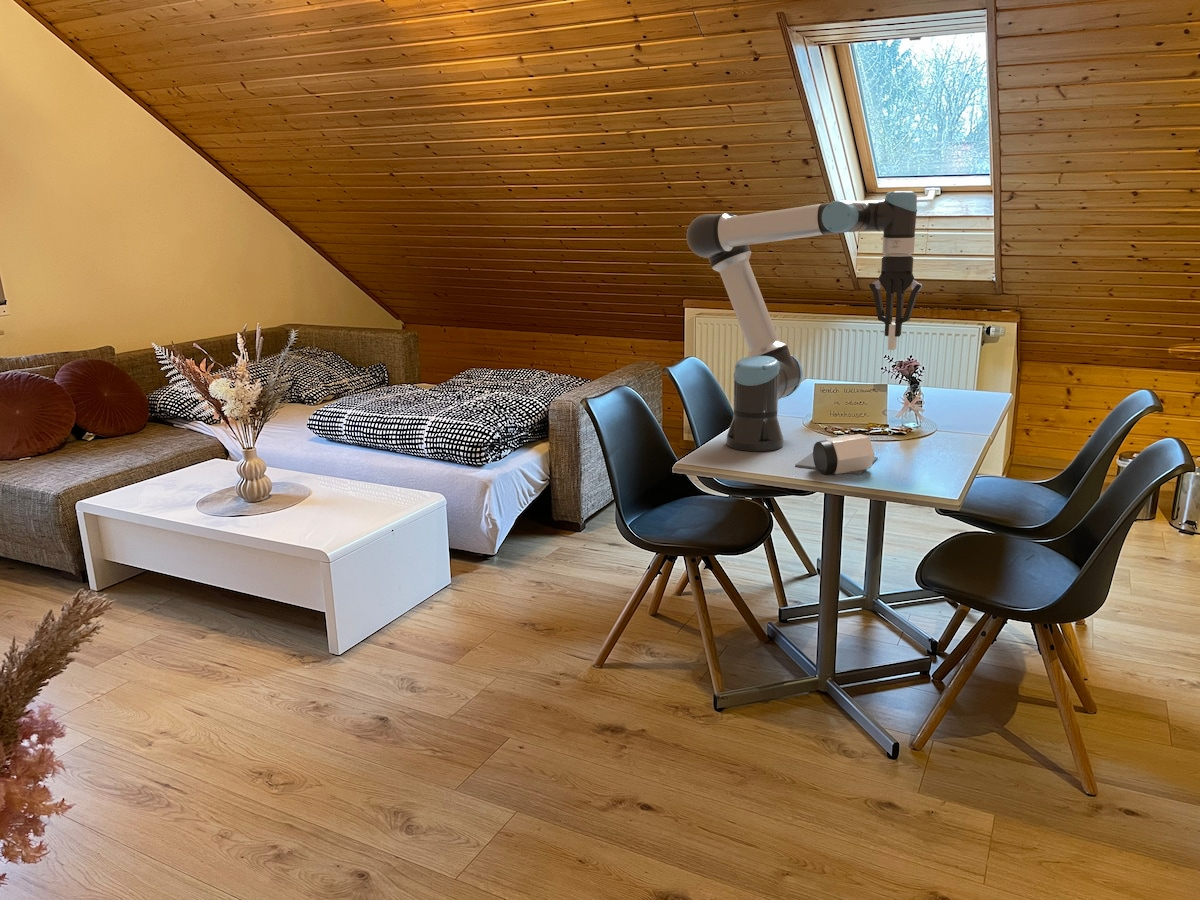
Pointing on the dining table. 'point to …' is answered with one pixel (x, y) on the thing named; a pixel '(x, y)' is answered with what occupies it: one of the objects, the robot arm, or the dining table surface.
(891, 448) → the dining table surface
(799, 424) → the dining table surface
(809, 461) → the mat
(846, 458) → the jar
